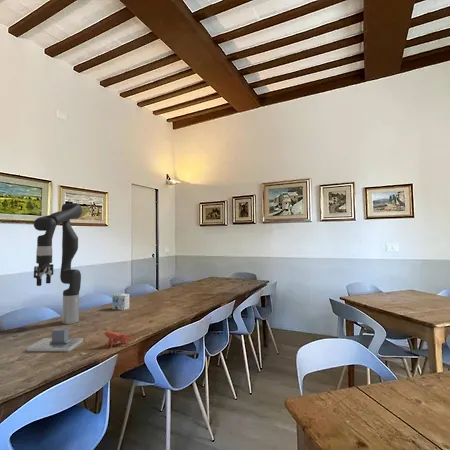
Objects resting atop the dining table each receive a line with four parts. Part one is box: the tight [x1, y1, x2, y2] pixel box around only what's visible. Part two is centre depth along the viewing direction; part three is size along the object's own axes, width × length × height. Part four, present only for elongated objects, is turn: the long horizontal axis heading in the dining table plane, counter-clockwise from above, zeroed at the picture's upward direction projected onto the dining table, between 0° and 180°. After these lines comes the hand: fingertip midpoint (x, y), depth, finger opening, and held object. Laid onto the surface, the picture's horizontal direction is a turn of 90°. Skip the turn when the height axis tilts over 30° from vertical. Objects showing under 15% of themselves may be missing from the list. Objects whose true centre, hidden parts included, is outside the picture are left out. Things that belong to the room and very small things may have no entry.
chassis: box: [26, 337, 84, 353], centre depth 154 cm, size 14×20×2 cm
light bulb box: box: [111, 293, 130, 311], centre depth 236 cm, size 11×7×11 cm, turn 76°
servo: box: [49, 327, 71, 345], centre depth 154 cm, size 4×8×8 cm, turn 89°
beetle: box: [103, 321, 136, 350], centre depth 158 cm, size 15×12×13 cm
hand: (43, 284), depth 169 cm, fingers open, 8 cm apart
